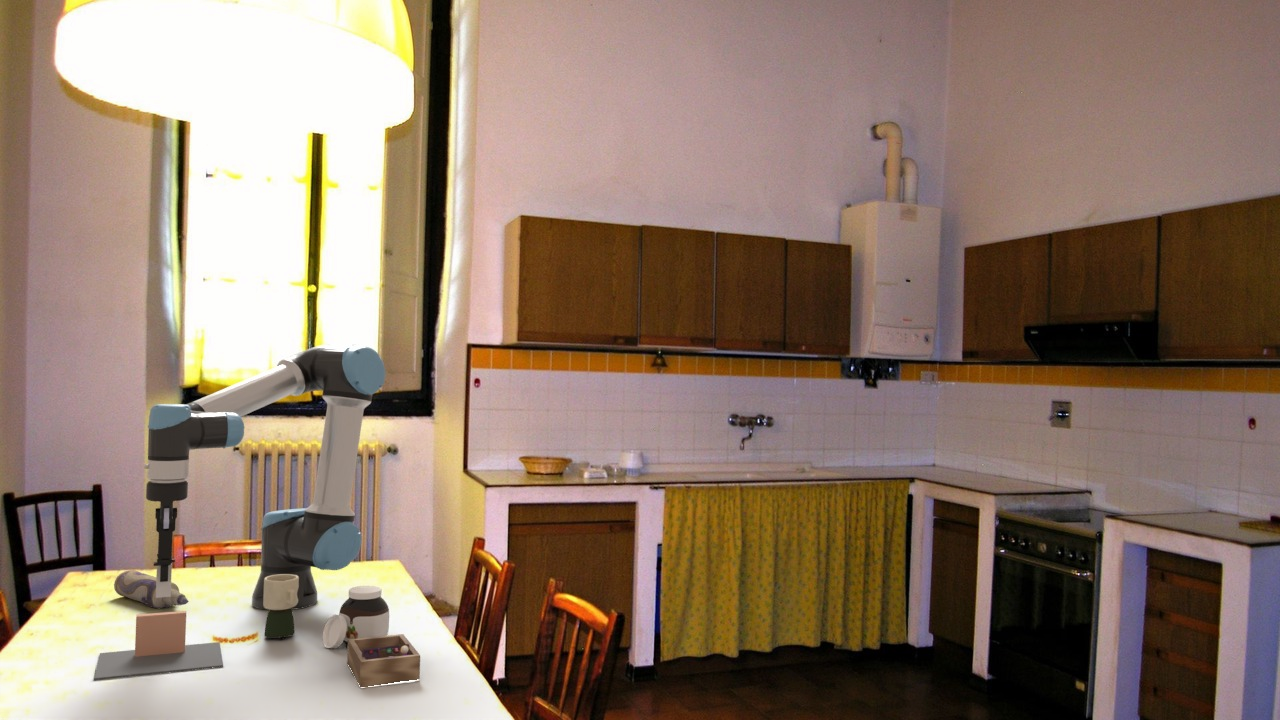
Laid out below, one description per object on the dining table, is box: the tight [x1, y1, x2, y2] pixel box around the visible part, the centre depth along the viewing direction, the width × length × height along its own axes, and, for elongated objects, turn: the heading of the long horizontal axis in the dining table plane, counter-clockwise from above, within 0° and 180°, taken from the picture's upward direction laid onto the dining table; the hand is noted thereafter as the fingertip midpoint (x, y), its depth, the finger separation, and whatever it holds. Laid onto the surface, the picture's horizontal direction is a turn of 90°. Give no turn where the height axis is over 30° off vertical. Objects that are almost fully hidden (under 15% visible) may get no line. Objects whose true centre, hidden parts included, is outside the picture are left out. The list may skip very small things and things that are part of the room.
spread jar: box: [322, 585, 390, 649], centre depth 201 cm, size 12×11×12 cm
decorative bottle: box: [113, 569, 190, 609], centre depth 227 cm, size 26×8×7 cm, turn 56°
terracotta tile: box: [134, 610, 187, 657], centre depth 190 cm, size 9×2×8 cm, turn 116°
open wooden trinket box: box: [346, 633, 421, 688], centre depth 184 cm, size 11×15×5 cm
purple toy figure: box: [362, 644, 410, 660], centre depth 181 cm, size 7×5×9 cm
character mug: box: [263, 574, 299, 639], centre depth 205 cm, size 11×7×13 cm, turn 49°
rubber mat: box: [93, 641, 224, 681], centre depth 187 cm, size 22×16×1 cm
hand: (163, 596), depth 191 cm, fingers closed
